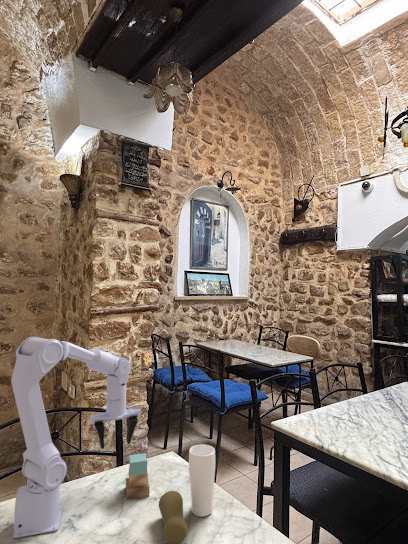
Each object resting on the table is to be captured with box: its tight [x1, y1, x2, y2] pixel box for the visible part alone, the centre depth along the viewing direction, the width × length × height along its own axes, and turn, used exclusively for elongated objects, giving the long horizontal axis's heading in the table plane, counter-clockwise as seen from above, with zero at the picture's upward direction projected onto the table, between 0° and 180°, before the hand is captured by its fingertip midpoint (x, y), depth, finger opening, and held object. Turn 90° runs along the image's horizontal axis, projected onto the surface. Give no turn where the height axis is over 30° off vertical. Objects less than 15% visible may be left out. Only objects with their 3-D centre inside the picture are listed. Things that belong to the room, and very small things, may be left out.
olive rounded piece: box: [158, 490, 188, 544], centre depth 78 cm, size 6×6×11 cm
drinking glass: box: [188, 443, 216, 518], centre depth 85 cm, size 7×7×15 cm
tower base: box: [125, 477, 150, 501], centre depth 93 cm, size 6×6×3 cm
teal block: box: [128, 452, 148, 476], centre depth 93 cm, size 4×4×4 cm
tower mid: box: [128, 468, 149, 488], centre depth 94 cm, size 5×5×3 cm
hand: (115, 444), depth 99 cm, fingers open, 7 cm apart
